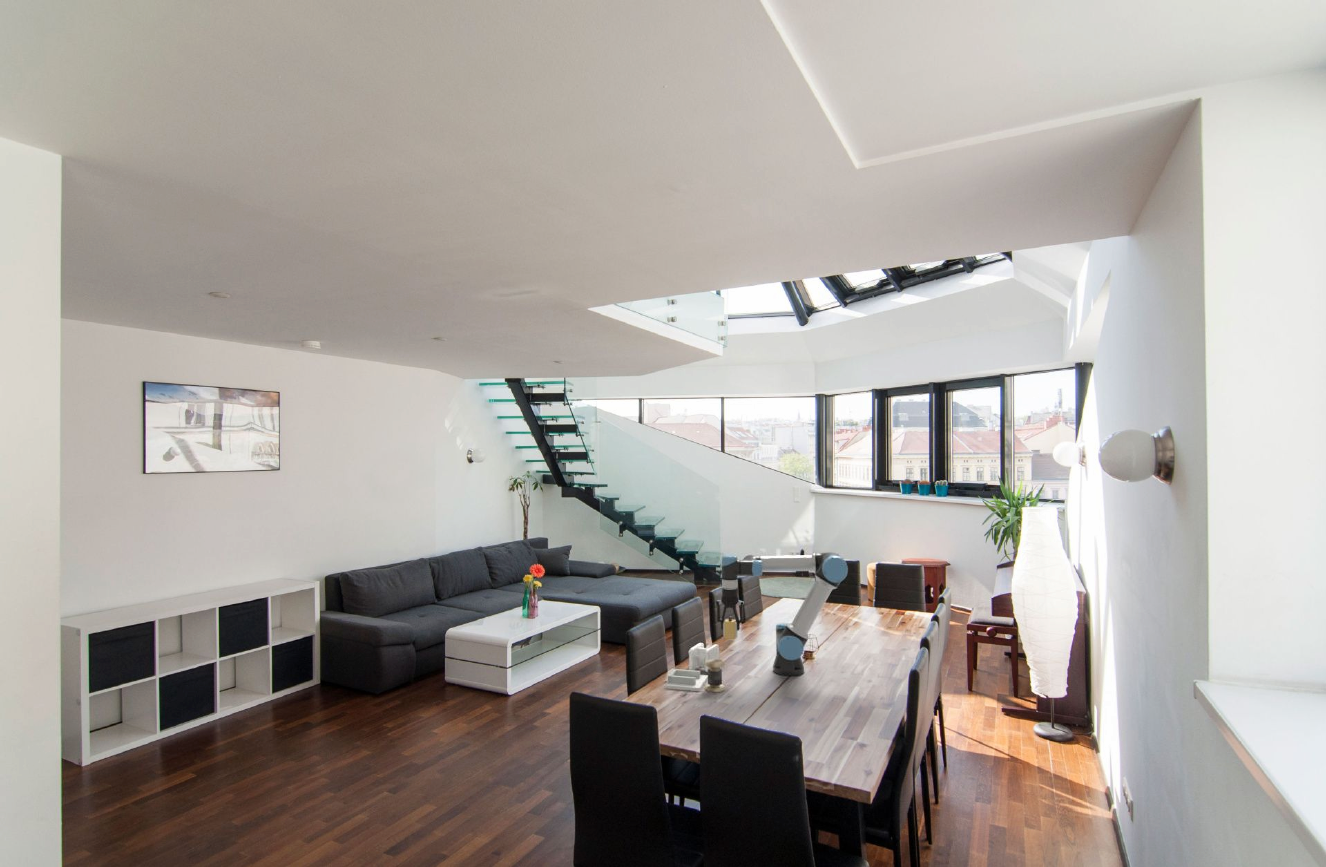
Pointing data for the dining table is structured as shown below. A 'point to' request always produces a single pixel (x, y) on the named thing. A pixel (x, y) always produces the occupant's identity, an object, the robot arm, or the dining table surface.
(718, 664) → the bobbin
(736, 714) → the dining table surface
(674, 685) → the grey square tray
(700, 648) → the cable organizer
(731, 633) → the yellow bottle
